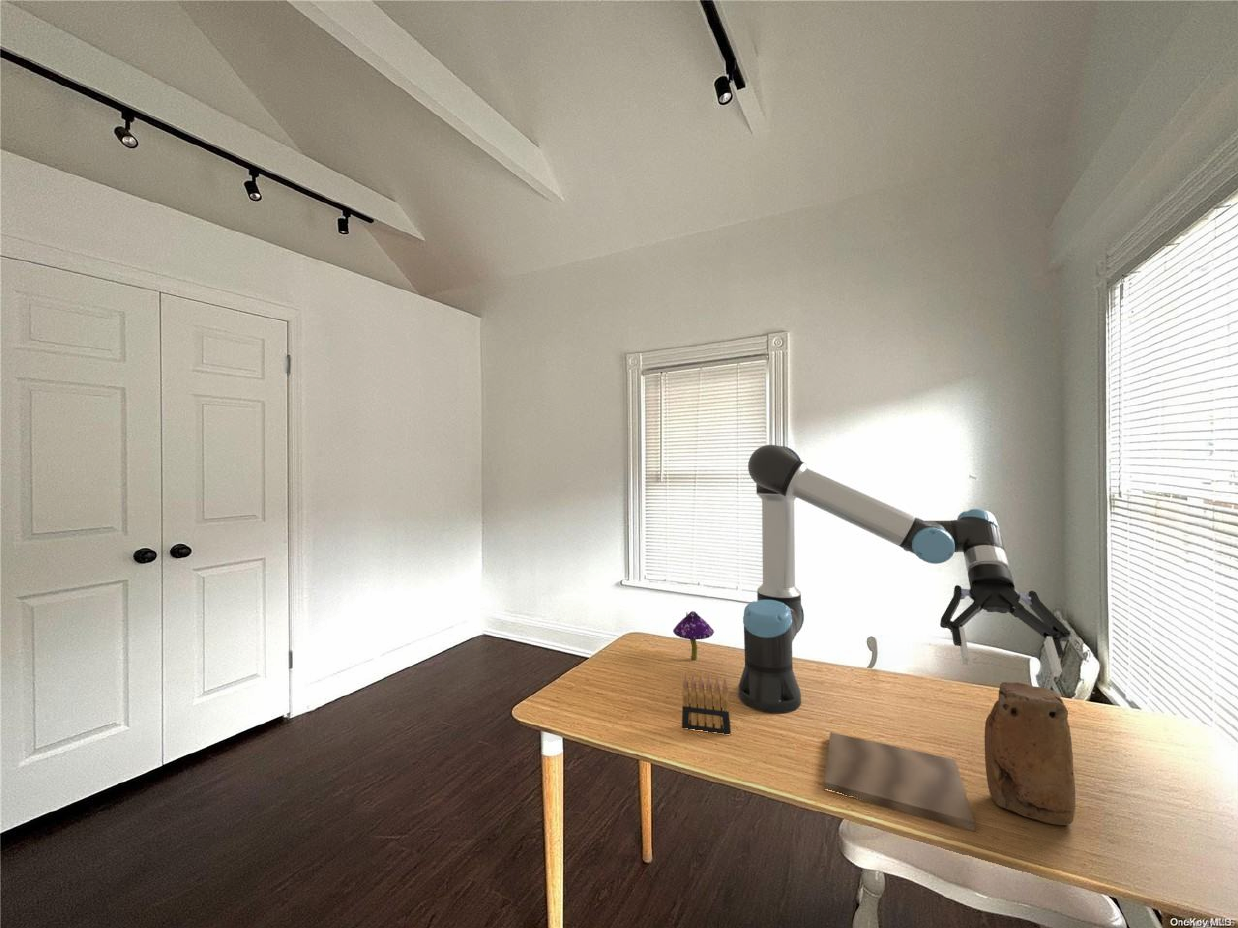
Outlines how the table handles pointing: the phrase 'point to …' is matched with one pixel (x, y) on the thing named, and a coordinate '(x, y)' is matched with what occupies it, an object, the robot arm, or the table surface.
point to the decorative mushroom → (693, 630)
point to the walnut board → (898, 779)
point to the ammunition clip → (705, 707)
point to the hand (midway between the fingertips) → (1010, 667)
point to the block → (1030, 754)
